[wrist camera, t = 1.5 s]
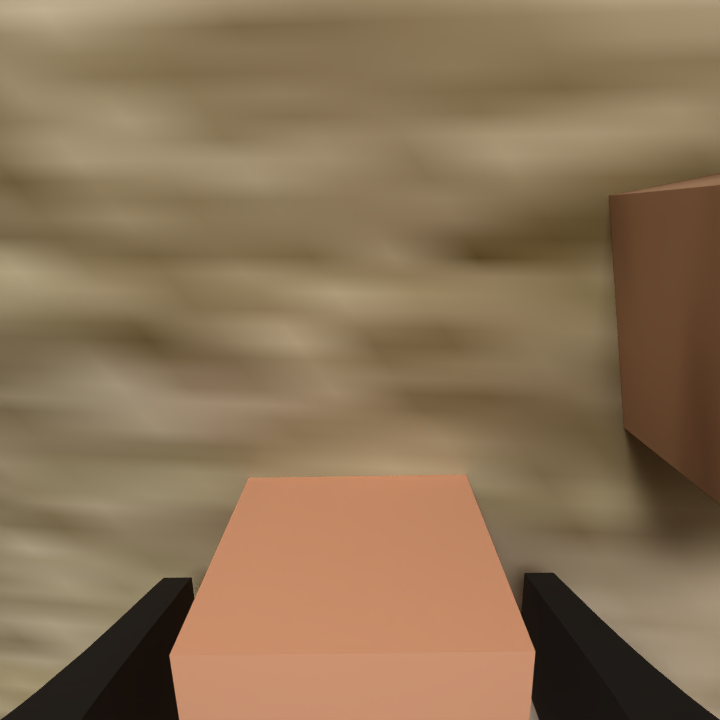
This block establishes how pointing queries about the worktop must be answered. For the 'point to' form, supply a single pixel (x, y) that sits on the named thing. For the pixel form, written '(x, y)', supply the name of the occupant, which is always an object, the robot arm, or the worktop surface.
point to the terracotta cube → (354, 608)
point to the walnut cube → (671, 322)
